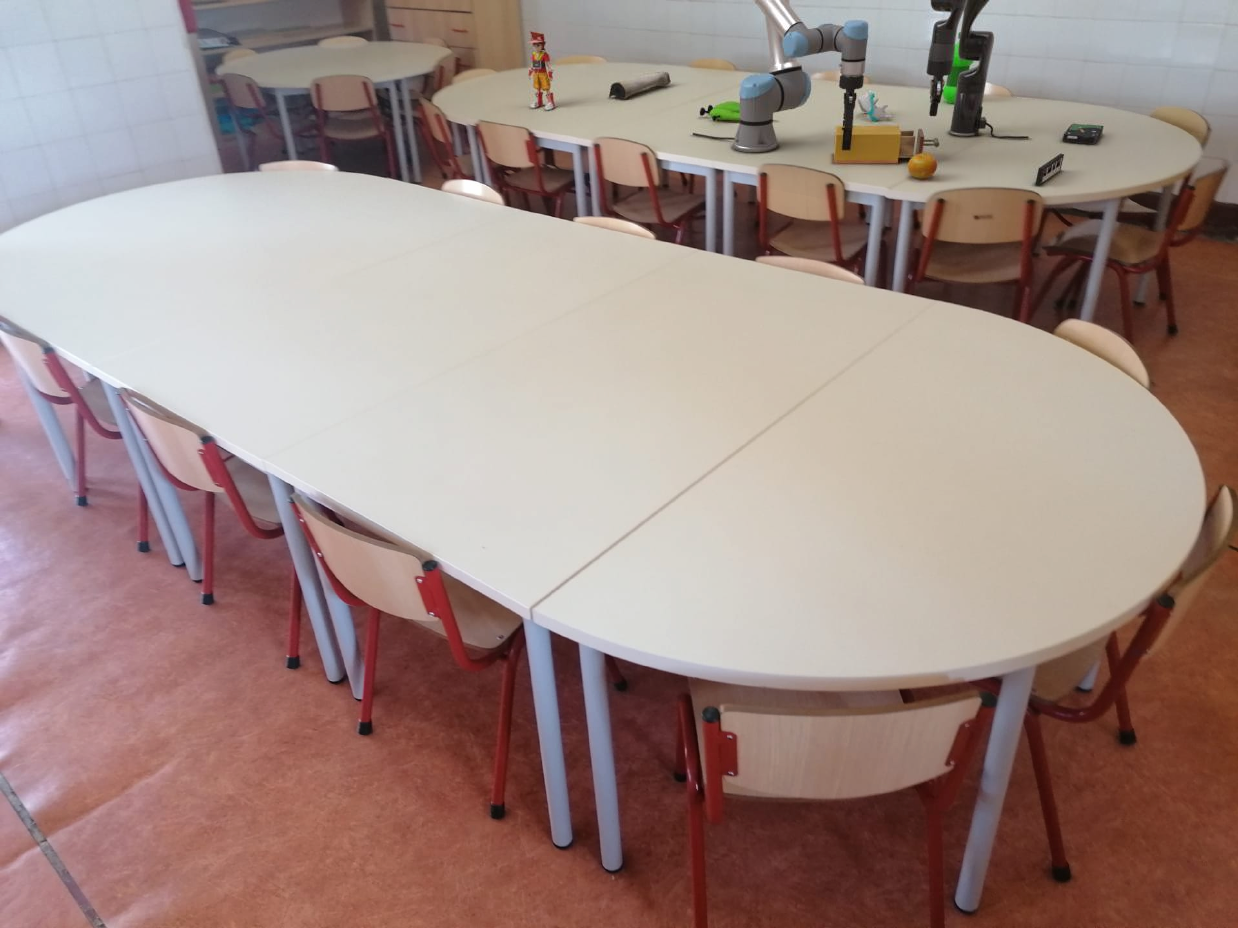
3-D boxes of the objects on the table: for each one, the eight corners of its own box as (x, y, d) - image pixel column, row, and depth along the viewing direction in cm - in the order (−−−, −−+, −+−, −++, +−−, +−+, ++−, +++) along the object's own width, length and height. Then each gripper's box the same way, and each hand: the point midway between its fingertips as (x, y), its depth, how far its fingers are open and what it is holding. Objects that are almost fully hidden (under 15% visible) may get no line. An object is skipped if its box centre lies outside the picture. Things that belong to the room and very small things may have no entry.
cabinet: (895, 154, 303) (899, 125, 297) (897, 163, 294) (901, 134, 289) (833, 154, 306) (836, 126, 301) (834, 163, 298) (836, 134, 293)
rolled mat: (651, 76, 408) (662, 61, 399) (662, 93, 408) (674, 79, 400) (605, 92, 391) (616, 77, 383) (617, 110, 391) (628, 95, 383)
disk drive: (1095, 145, 299) (1102, 133, 309) (1097, 137, 298) (1104, 125, 308) (1061, 142, 304) (1069, 130, 314) (1063, 134, 302) (1071, 122, 312)
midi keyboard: (1039, 185, 269) (1043, 168, 266) (1035, 184, 270) (1038, 168, 267) (1060, 170, 279) (1064, 154, 277) (1056, 169, 280) (1060, 153, 277)
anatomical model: (852, 90, 344) (878, 82, 343) (855, 117, 350) (880, 110, 349) (864, 99, 332) (891, 92, 331) (867, 127, 338) (893, 120, 337)
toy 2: (690, 119, 348) (760, 132, 336) (691, 105, 346) (762, 118, 333) (721, 108, 369) (789, 120, 356) (723, 95, 366) (791, 106, 353)
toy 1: (525, 109, 381) (517, 32, 364) (534, 104, 388) (527, 28, 371) (550, 110, 377) (543, 32, 360) (559, 105, 384) (553, 28, 367)
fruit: (901, 168, 278) (918, 145, 275) (903, 171, 286) (919, 148, 282) (924, 184, 276) (941, 161, 273) (925, 186, 284) (942, 163, 281)
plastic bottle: (973, 101, 354) (984, 32, 339) (955, 106, 349) (966, 36, 335) (952, 97, 361) (962, 29, 346) (934, 102, 356) (944, 33, 342)
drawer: (935, 151, 299) (938, 128, 295) (938, 159, 292) (941, 136, 288) (860, 151, 304) (862, 129, 300) (861, 160, 296) (863, 137, 292)
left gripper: (839, 67, 296) (834, 135, 309) (840, 83, 278) (834, 155, 290) (863, 66, 295) (856, 135, 308) (865, 82, 276) (858, 155, 289)
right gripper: (926, 54, 285) (919, 110, 295) (930, 62, 274) (922, 121, 284) (951, 53, 284) (942, 110, 293) (956, 62, 273) (947, 121, 283)
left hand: (845, 145), depth 299 cm, fingers closed on cabinet, 11 cm apart
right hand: (932, 115), depth 289 cm, fingers closed
